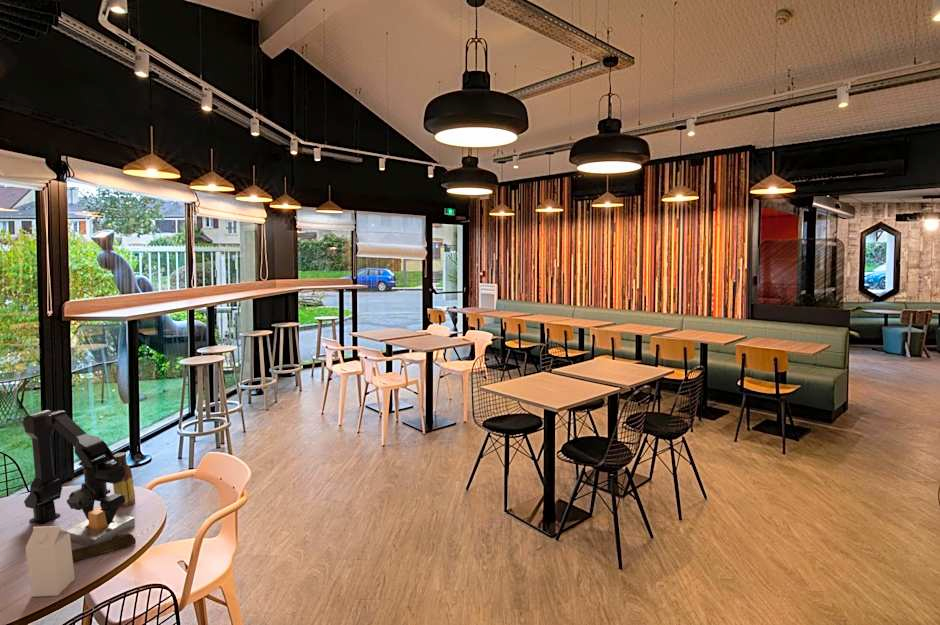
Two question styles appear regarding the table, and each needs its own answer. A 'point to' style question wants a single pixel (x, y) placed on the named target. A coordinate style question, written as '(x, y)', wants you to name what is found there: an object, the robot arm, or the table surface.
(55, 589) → the milk carton
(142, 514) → the table surface
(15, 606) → the table surface
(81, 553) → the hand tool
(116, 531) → the grey square hole board
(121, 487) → the sauce bottle
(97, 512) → the orange rectangular block
